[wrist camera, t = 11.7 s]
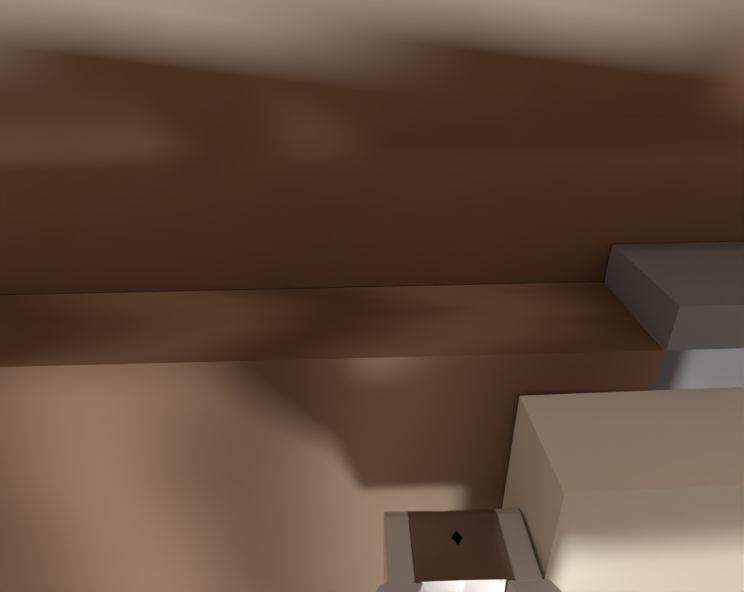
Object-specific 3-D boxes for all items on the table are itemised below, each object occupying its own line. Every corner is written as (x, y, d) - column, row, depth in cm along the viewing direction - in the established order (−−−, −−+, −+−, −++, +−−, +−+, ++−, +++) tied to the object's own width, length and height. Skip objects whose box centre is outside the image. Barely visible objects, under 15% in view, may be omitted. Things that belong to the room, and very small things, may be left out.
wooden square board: (602, 281, 13) (664, 350, 11) (522, 647, 21) (546, 740, 18) (-55, 296, 13) (-161, 371, 10) (108, 662, 20) (71, 759, 18)
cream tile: (802, 384, 11) (916, 477, 9) (717, 567, 14) (786, 671, 12) (519, 395, 11) (564, 493, 9) (491, 579, 14) (519, 688, 12)
